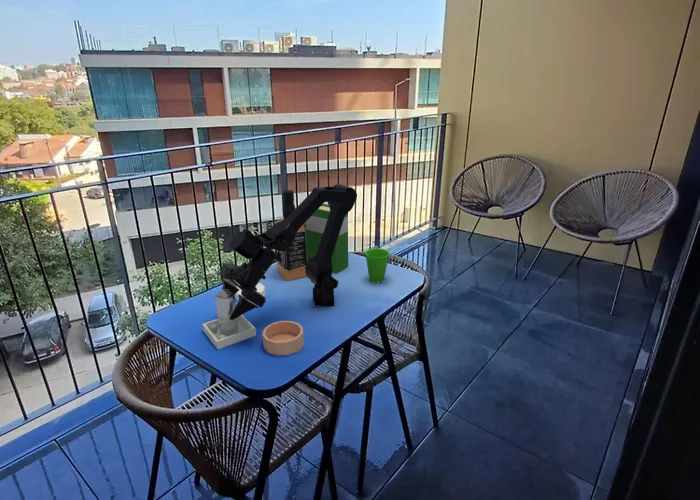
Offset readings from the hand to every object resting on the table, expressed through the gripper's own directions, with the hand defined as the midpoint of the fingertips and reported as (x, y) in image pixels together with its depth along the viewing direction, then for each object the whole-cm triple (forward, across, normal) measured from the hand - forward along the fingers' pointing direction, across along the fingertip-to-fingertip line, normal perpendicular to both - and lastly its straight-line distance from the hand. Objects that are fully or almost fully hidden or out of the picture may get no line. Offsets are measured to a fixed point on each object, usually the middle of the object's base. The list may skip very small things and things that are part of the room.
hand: (224, 312), depth 115 cm
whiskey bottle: (-20, -26, +31) cm, 45 cm away
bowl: (-2, +14, +13) cm, 19 cm away
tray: (+5, 0, +6) cm, 8 cm away
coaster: (-5, -18, +16) cm, 25 cm away
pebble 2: (+7, +3, +3) cm, 8 cm away
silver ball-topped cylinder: (+4, 0, +6) cm, 7 cm away
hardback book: (-30, -25, +41) cm, 56 cm away
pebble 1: (+7, -3, +3) cm, 8 cm away
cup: (-35, -2, +46) cm, 58 cm away
